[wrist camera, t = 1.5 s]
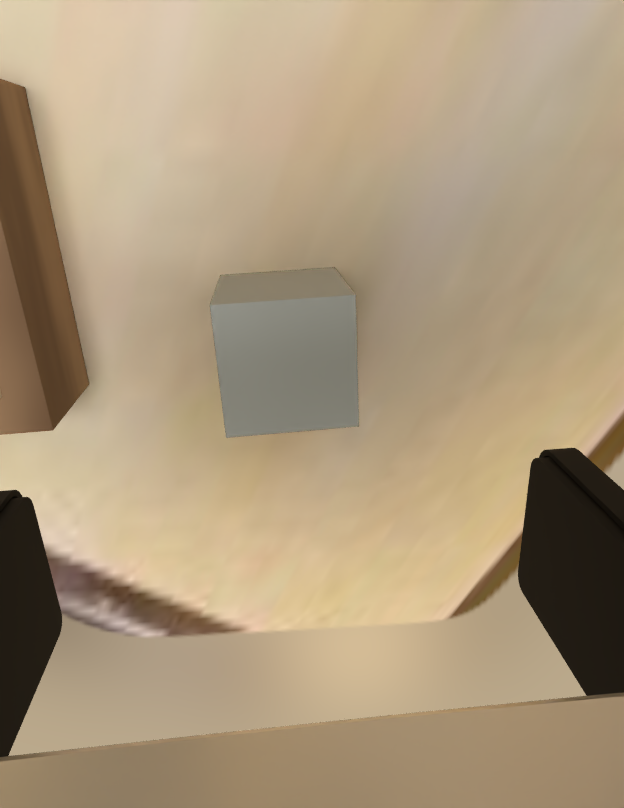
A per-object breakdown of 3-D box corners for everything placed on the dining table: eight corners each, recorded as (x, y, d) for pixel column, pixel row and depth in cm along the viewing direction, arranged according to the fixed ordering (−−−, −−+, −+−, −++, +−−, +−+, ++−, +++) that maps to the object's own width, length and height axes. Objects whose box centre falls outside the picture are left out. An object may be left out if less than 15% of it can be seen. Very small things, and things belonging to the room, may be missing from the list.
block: (334, 267, 25) (355, 294, 20) (338, 374, 27) (358, 426, 22) (220, 274, 25) (209, 305, 20) (232, 382, 27) (226, 437, 22)
